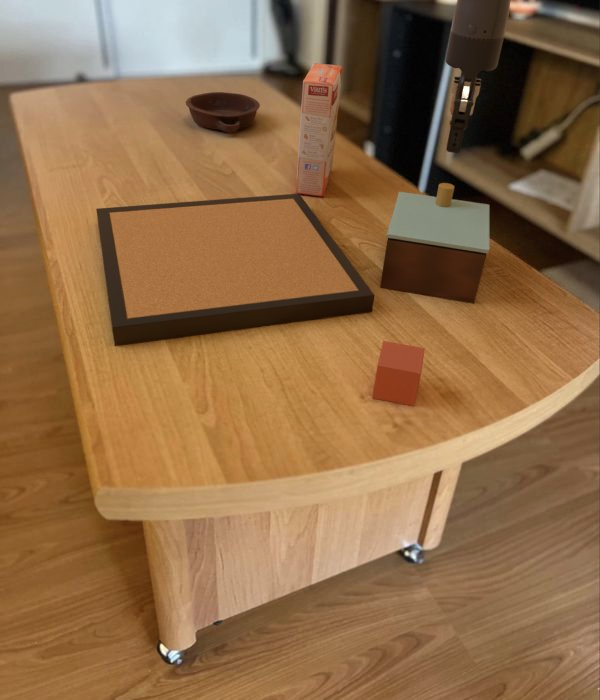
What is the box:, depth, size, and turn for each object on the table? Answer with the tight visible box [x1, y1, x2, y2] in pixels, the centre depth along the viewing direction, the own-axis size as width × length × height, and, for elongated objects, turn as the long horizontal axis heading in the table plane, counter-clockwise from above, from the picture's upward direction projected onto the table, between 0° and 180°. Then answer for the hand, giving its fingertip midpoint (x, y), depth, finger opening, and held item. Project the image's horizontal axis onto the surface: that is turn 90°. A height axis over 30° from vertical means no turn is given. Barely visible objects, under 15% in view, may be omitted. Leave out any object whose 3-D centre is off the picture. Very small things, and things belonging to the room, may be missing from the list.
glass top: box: [386, 182, 491, 254], centre depth 94 cm, size 14×16×4 cm
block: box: [371, 340, 426, 407], centre depth 75 cm, size 5×5×5 cm
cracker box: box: [295, 62, 343, 198], centre depth 120 cm, size 14×6×21 cm, turn 171°
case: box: [379, 238, 488, 304], centre depth 98 cm, size 14×16×8 cm
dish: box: [185, 91, 261, 134], centre depth 151 cm, size 18×22×5 cm
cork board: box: [95, 193, 375, 347], centre depth 97 cm, size 36×3×35 cm
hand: (453, 150), depth 100 cm, fingers closed
